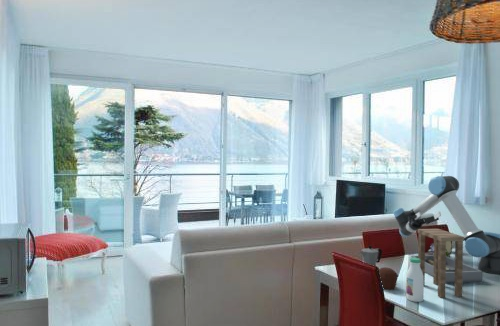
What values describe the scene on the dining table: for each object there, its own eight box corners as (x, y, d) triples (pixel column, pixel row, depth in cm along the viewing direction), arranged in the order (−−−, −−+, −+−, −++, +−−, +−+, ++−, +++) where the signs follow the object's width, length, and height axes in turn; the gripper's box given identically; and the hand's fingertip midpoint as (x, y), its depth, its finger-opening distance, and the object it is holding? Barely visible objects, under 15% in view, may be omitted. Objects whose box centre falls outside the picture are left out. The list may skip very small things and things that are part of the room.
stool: (417, 283, 210) (417, 229, 210) (437, 283, 212) (438, 228, 211) (440, 298, 189) (441, 237, 189) (463, 297, 191) (464, 236, 190)
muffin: (370, 284, 209) (370, 266, 209) (387, 282, 213) (387, 264, 212) (385, 292, 198) (385, 272, 197) (402, 289, 202) (403, 270, 201)
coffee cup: (454, 253, 276) (454, 236, 275) (440, 252, 277) (440, 236, 277) (450, 250, 285) (450, 233, 284) (436, 249, 287) (436, 233, 286)
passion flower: (436, 264, 266) (425, 250, 267) (436, 258, 275) (426, 244, 277) (451, 257, 261) (440, 242, 262) (451, 251, 270) (440, 236, 271)
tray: (411, 265, 245) (411, 255, 245) (443, 264, 248) (443, 254, 248) (445, 283, 211) (445, 272, 210) (482, 282, 213) (482, 271, 213)
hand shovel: (422, 264, 244) (422, 259, 244) (436, 263, 245) (436, 259, 245) (452, 278, 215) (452, 273, 215) (467, 278, 216) (467, 273, 216)
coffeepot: (365, 280, 216) (366, 248, 216) (355, 275, 225) (355, 244, 225) (387, 276, 222) (387, 245, 222) (376, 272, 231) (376, 242, 231)
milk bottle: (422, 297, 190) (423, 257, 190) (424, 303, 183) (424, 261, 183) (405, 295, 193) (406, 255, 192) (406, 301, 186) (407, 259, 185)
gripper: (432, 230, 262) (450, 218, 243) (398, 231, 259) (412, 219, 240) (429, 219, 265) (446, 207, 247) (395, 220, 262) (409, 208, 244)
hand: (430, 213), depth 244 cm, fingers open, 13 cm apart
